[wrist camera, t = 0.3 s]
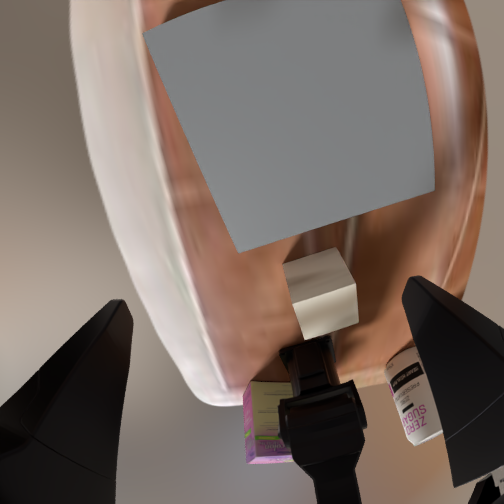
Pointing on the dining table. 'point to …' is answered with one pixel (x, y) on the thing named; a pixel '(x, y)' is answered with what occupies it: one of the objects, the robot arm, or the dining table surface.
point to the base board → (298, 110)
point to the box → (264, 422)
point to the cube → (322, 293)
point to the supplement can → (413, 396)
